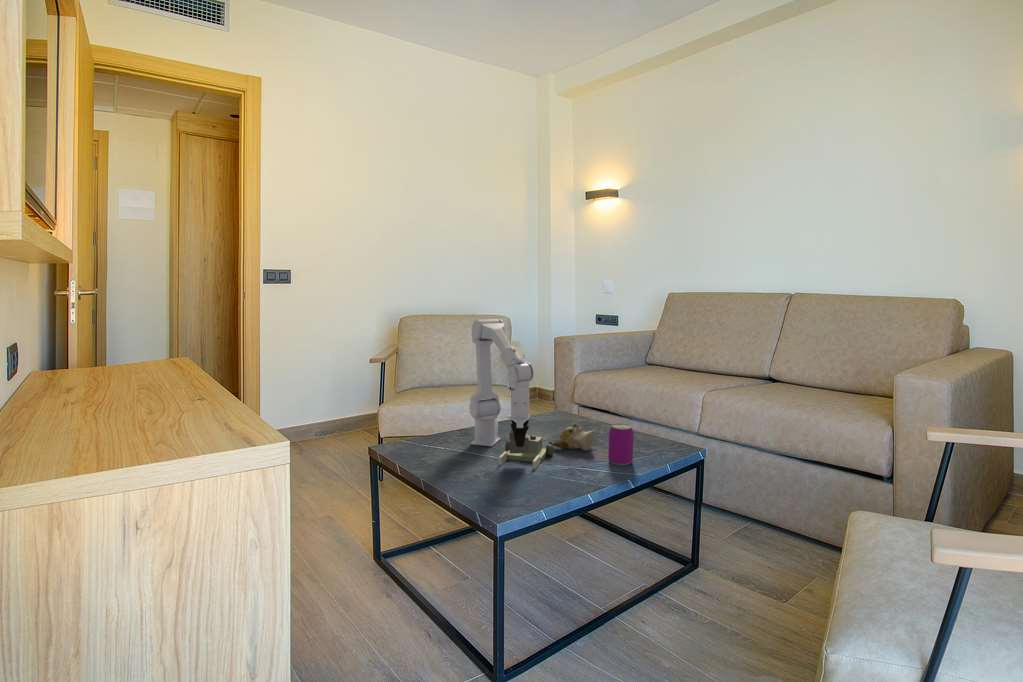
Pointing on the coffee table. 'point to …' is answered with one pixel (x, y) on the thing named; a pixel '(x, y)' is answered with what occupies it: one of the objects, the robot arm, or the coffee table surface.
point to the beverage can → (621, 444)
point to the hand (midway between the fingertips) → (519, 444)
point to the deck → (534, 454)
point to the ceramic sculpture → (575, 438)
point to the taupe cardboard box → (514, 448)
